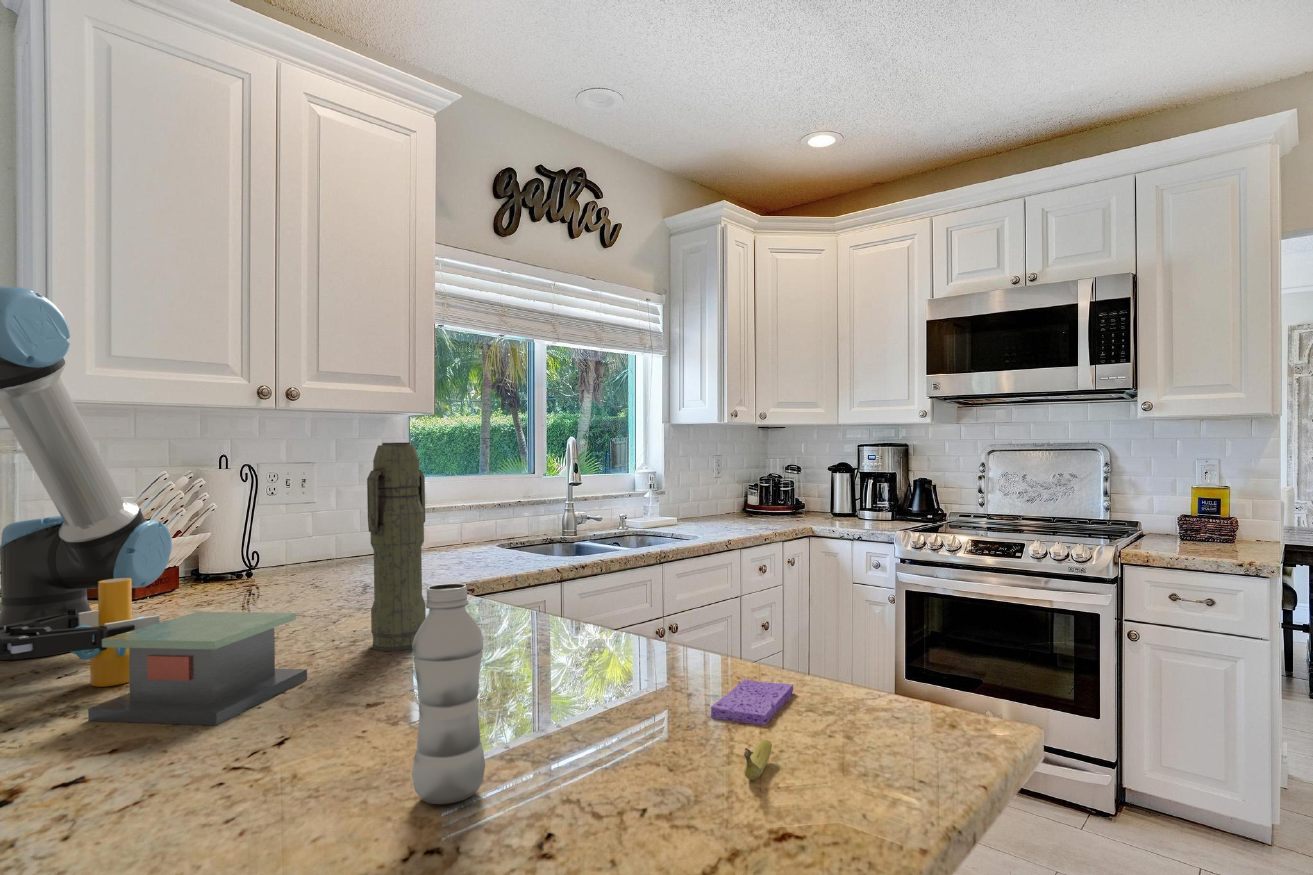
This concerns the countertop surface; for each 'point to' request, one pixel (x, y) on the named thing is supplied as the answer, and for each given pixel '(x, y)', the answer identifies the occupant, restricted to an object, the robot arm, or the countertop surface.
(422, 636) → the plastic bottle
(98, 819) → the countertop surface
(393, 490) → the thermos
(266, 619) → the grey green pedestal stand
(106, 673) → the cylinder
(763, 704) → the sponges
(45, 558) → the robot arm
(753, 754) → the banana
